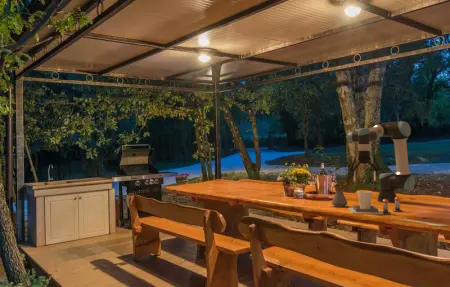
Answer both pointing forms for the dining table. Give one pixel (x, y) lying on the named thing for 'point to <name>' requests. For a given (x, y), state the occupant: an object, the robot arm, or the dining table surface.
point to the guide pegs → (397, 209)
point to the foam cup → (365, 199)
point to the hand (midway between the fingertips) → (364, 180)
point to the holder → (365, 210)
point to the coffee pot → (339, 198)
